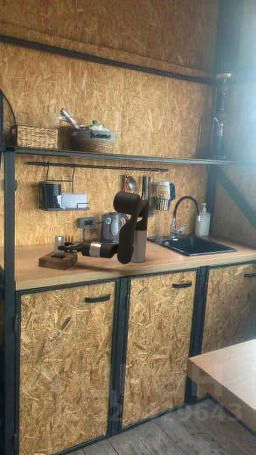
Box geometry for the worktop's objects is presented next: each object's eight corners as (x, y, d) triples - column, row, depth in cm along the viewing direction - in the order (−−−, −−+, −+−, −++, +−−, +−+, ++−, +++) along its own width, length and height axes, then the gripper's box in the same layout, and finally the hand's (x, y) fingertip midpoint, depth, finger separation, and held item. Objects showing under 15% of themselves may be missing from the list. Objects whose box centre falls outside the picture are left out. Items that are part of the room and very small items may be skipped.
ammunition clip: (72, 256, 202) (73, 234, 200) (73, 256, 201) (74, 235, 198) (53, 257, 198) (54, 235, 195) (54, 258, 196) (54, 235, 194)
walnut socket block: (52, 258, 194) (52, 251, 193) (77, 261, 191) (77, 254, 191) (38, 266, 179) (38, 258, 178) (65, 270, 176) (65, 262, 175)
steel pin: (56, 262, 188) (57, 235, 185) (64, 263, 187) (65, 236, 184) (52, 264, 183) (53, 237, 181) (61, 265, 182) (62, 238, 180)
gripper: (97, 239, 186) (67, 235, 189) (88, 244, 172) (55, 241, 176) (96, 253, 187) (66, 250, 191) (87, 260, 174) (55, 256, 177)
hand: (61, 245), depth 183 cm, fingers open, 8 cm apart
